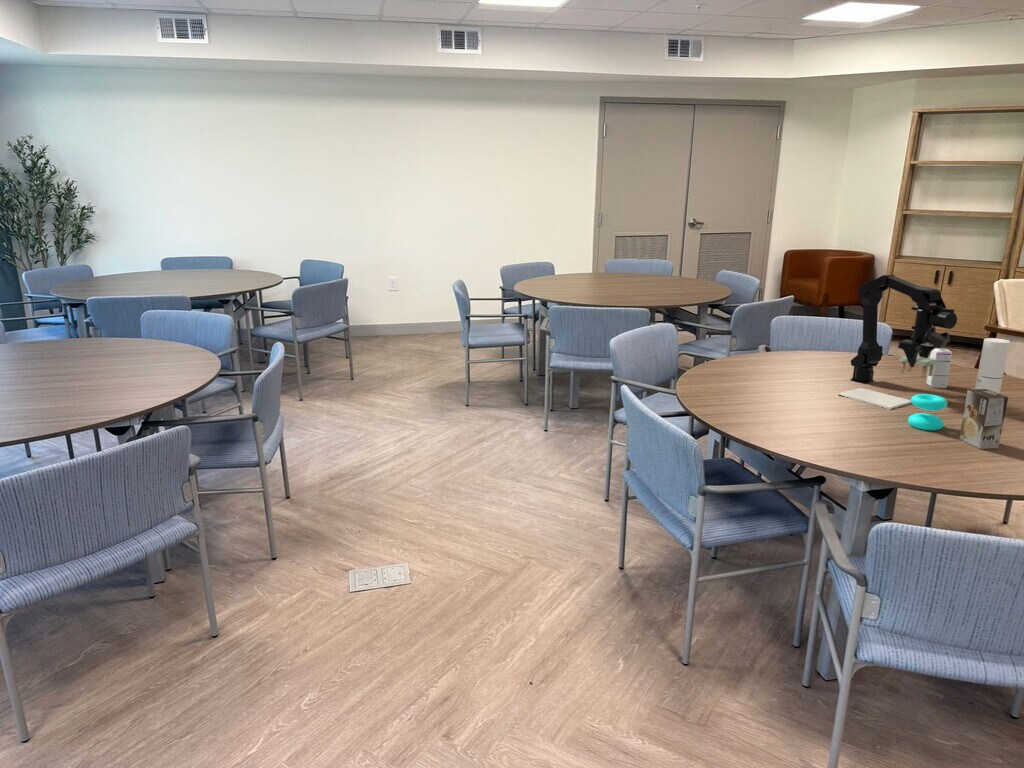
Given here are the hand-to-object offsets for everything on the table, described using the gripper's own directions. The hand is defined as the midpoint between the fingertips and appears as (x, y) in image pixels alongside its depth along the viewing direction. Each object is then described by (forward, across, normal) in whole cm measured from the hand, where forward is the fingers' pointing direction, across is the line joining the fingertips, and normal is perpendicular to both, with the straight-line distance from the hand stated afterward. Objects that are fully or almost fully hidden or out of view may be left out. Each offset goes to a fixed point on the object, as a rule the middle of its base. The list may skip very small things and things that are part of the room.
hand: (917, 365), depth 247 cm
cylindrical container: (+12, +5, -22) cm, 26 cm away
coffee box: (+12, -30, -37) cm, 49 cm away
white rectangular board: (+12, -14, +6) cm, 19 cm away
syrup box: (+12, +22, +3) cm, 25 cm away
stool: (+3, 0, 0) cm, 3 cm away
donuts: (+12, -28, -20) cm, 36 cm away
